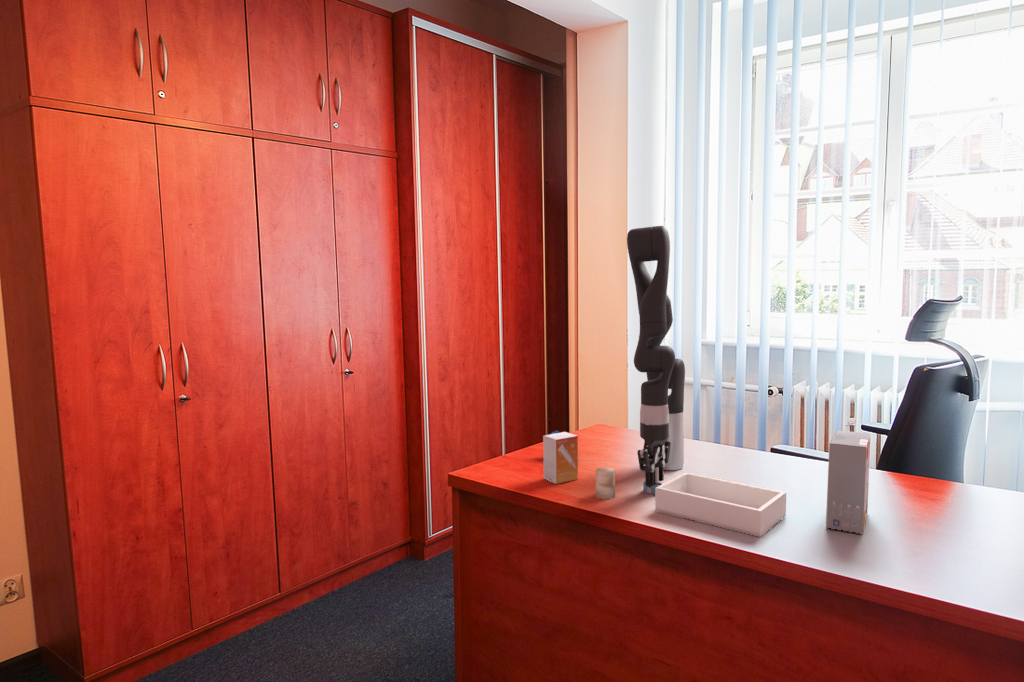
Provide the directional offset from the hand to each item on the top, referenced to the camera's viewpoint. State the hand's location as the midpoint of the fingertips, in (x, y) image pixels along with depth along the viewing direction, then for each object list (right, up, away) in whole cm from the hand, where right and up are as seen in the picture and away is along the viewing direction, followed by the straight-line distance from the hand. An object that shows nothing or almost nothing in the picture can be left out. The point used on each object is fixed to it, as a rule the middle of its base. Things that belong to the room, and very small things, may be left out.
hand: (654, 482), depth 174 cm
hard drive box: (+40, -4, -22) cm, 46 cm away
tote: (+12, -4, -16) cm, 21 cm away
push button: (0, -3, 0) cm, 3 cm away
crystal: (-22, 0, +35) cm, 42 cm away
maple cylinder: (-13, -3, -1) cm, 14 cm away
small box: (-24, -2, +14) cm, 28 cm away
